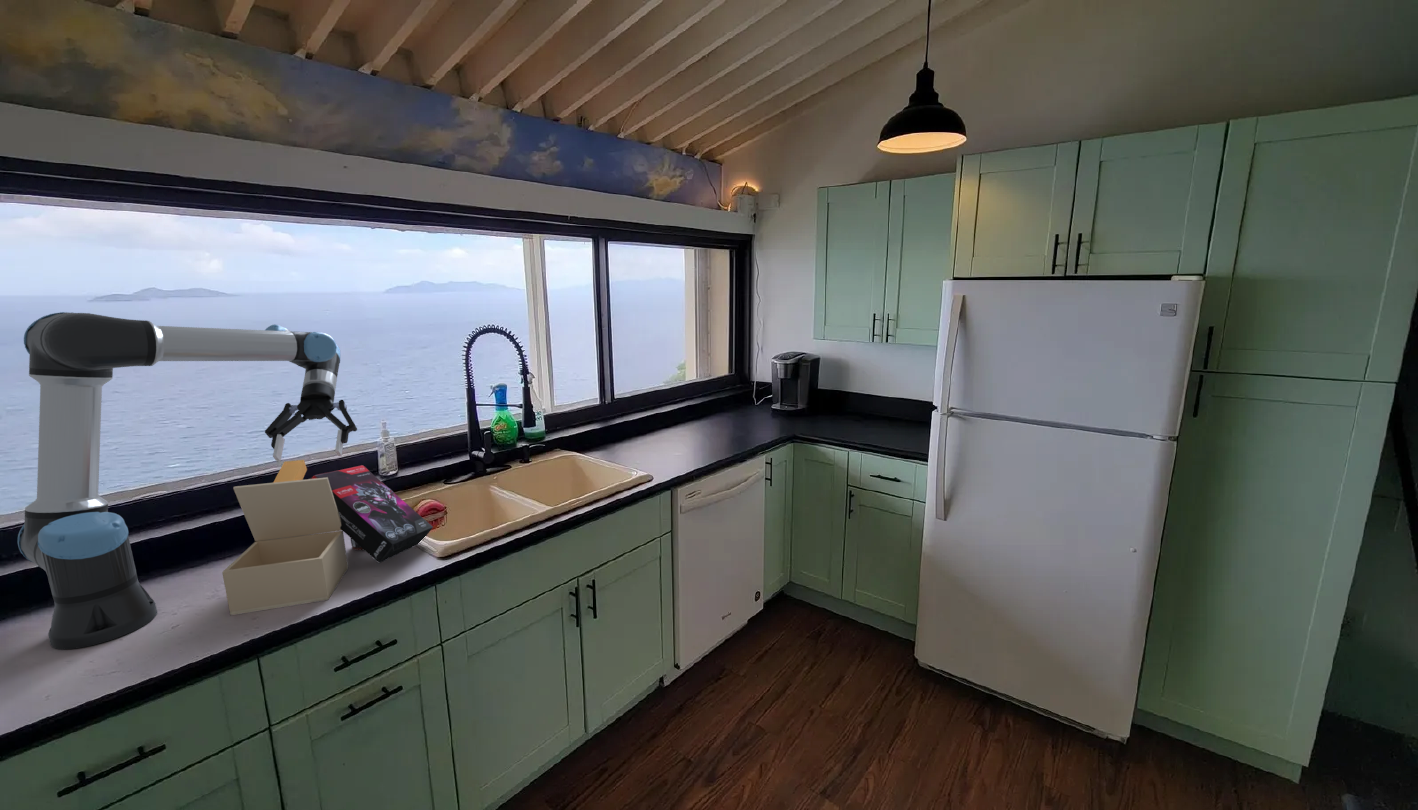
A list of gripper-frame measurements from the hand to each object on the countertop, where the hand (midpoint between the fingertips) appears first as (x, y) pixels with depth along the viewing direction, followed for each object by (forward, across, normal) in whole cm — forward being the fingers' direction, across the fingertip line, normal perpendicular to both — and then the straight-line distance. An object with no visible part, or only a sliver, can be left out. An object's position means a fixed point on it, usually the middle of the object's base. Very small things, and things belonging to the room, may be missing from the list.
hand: (307, 456), depth 143 cm
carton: (+33, 0, -4) cm, 34 cm away
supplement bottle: (+19, -10, -20) cm, 29 cm away
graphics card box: (+25, -22, -9) cm, 35 cm away
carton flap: (+17, 0, +4) cm, 18 cm away
